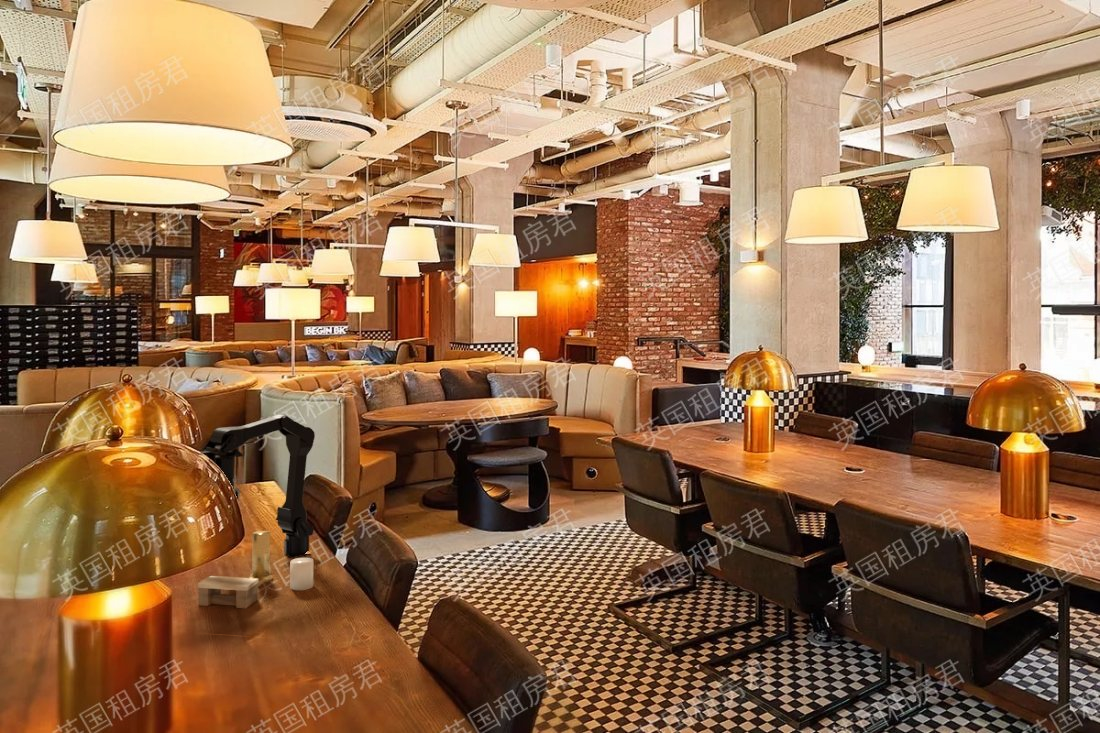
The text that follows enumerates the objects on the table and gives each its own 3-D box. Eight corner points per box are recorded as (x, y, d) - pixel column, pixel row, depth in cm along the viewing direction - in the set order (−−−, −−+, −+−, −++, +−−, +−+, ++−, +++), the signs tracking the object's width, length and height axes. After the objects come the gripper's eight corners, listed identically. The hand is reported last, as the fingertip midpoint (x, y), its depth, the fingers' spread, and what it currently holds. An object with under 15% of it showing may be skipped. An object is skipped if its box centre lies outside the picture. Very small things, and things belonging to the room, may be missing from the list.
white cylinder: (309, 581, 208) (309, 556, 208) (316, 587, 203) (316, 562, 203) (287, 584, 205) (287, 559, 204) (293, 591, 200) (293, 566, 199)
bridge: (210, 596, 195) (210, 575, 195) (258, 599, 194) (258, 578, 193) (197, 605, 189) (197, 583, 189) (246, 608, 188) (246, 586, 188)
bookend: (256, 574, 212) (256, 529, 211) (276, 576, 211) (276, 530, 210) (235, 589, 200) (235, 541, 200) (256, 590, 200) (256, 542, 199)
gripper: (200, 467, 217) (198, 521, 217) (184, 479, 199) (181, 538, 199) (241, 468, 219) (239, 521, 220) (229, 479, 201) (226, 537, 201)
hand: (221, 529), depth 210 cm, fingers open, 9 cm apart
